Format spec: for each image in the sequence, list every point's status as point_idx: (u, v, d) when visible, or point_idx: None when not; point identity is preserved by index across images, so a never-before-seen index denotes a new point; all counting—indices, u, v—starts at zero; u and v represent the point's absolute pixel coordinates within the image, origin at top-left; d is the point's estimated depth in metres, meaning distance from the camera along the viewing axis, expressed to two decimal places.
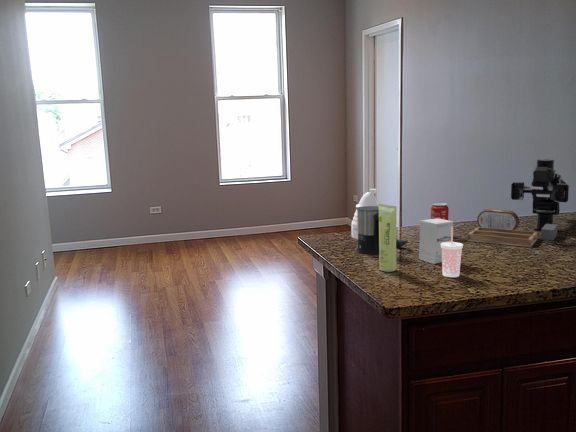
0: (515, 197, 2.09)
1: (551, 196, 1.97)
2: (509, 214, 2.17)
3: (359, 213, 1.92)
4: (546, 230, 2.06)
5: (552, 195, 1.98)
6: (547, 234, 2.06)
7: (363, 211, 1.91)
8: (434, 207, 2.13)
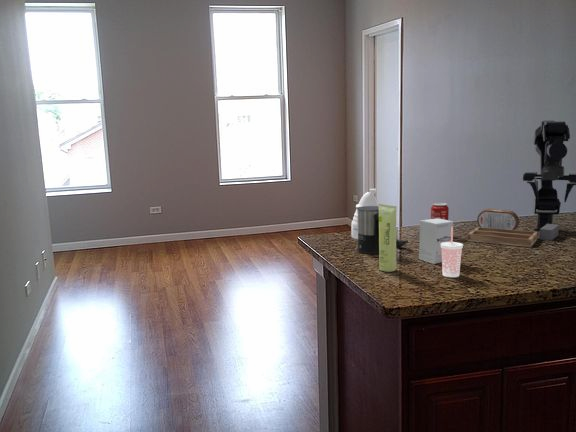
0: None
1: (566, 200, 2.06)
2: (509, 214, 2.17)
3: (359, 213, 1.92)
4: (545, 230, 2.06)
5: None
6: (546, 234, 2.06)
7: (363, 211, 1.91)
8: (434, 207, 2.13)
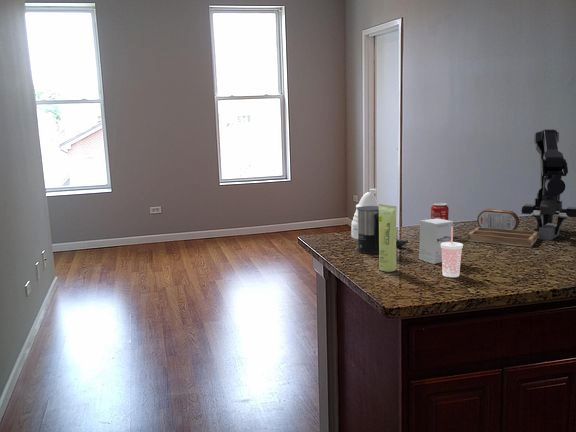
0: None
1: None
2: (509, 214, 2.17)
3: (359, 213, 1.93)
4: (544, 229, 2.06)
5: None
6: (545, 233, 2.06)
7: (363, 211, 1.91)
8: (434, 207, 2.13)
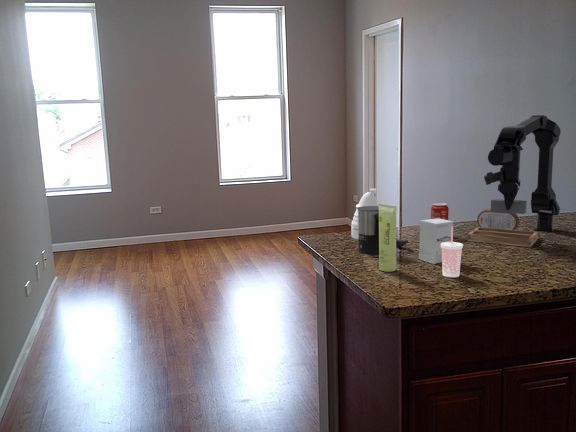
0: None
1: (508, 208, 2.01)
2: (509, 214, 2.17)
3: (360, 213, 1.93)
4: (492, 200, 2.06)
5: (507, 206, 2.01)
6: None
7: (364, 211, 1.91)
8: (434, 207, 2.13)
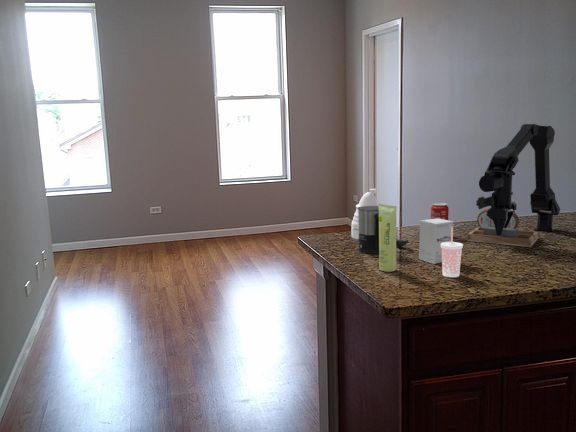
0: None
1: (498, 233, 2.01)
2: None
3: (360, 213, 1.93)
4: None
5: (497, 232, 2.01)
6: None
7: (364, 211, 1.91)
8: (434, 207, 2.13)
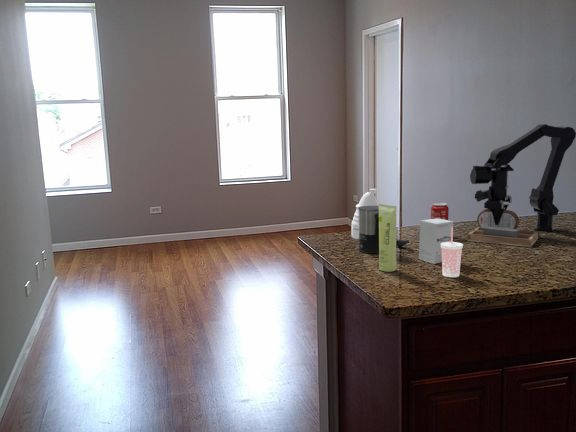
0: None
1: (496, 223, 2.20)
2: (509, 214, 2.17)
3: (360, 213, 1.93)
4: None
5: (495, 221, 2.20)
6: None
7: (364, 211, 1.91)
8: (434, 207, 2.13)
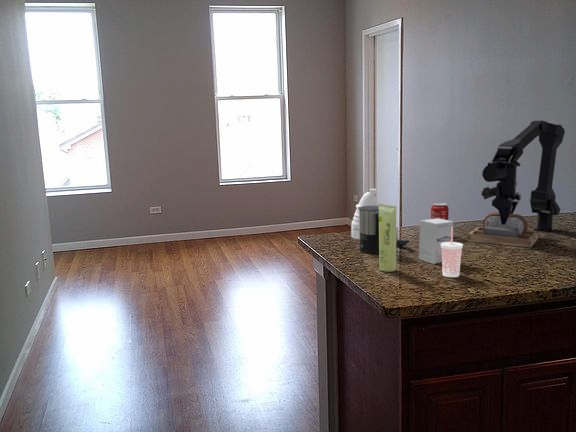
0: None
1: (503, 223, 2.07)
2: (517, 218, 2.06)
3: (361, 212, 1.93)
4: None
5: (502, 221, 2.06)
6: None
7: (365, 210, 1.92)
8: (434, 207, 2.13)
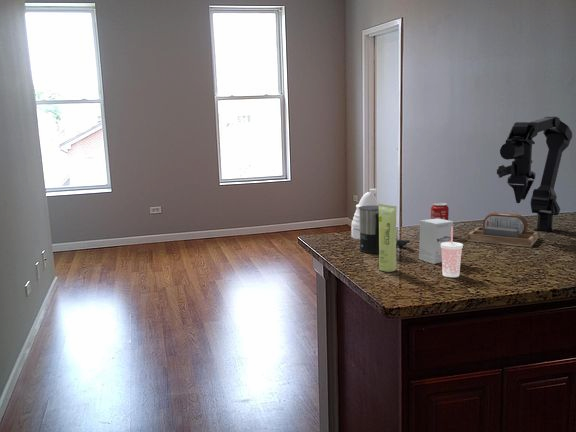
0: None
1: (518, 201, 2.06)
2: (517, 218, 2.06)
3: (361, 212, 1.94)
4: None
5: (517, 199, 2.06)
6: None
7: (365, 210, 1.92)
8: (434, 207, 2.13)
